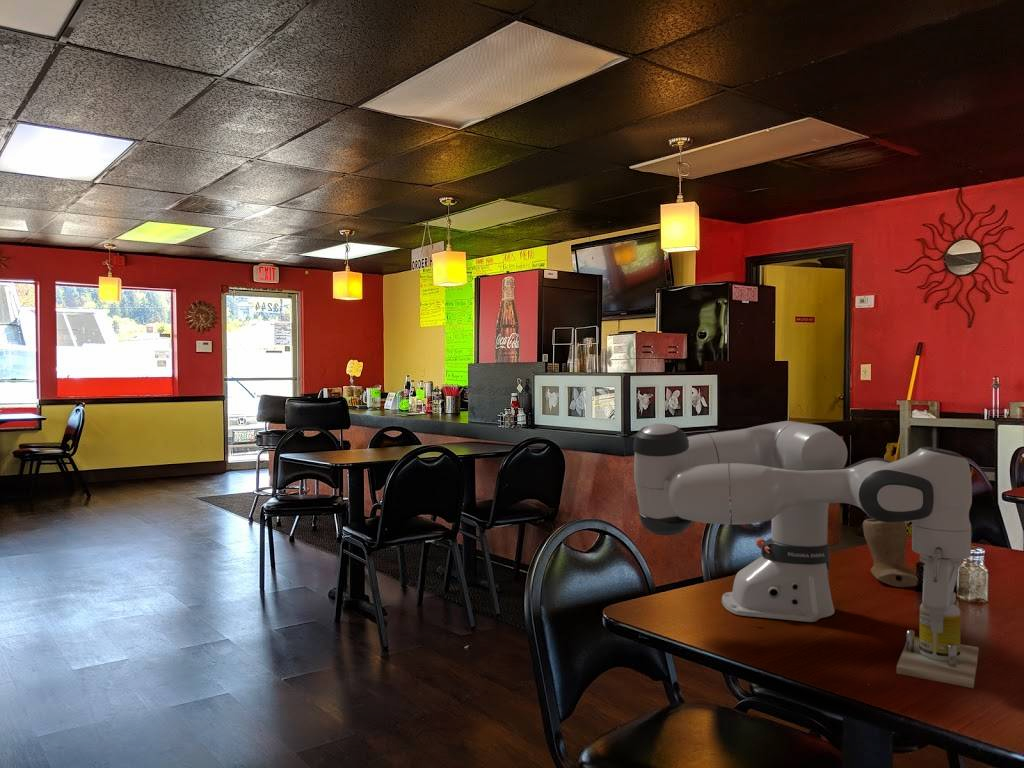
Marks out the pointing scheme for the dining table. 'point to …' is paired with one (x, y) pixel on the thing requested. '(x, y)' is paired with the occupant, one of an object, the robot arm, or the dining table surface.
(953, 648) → the header pins
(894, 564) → the tan boot
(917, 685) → the dining table surface
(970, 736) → the dining table surface
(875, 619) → the dining table surface
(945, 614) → the pill bottle
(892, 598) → the dining table surface
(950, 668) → the light wood flat board
